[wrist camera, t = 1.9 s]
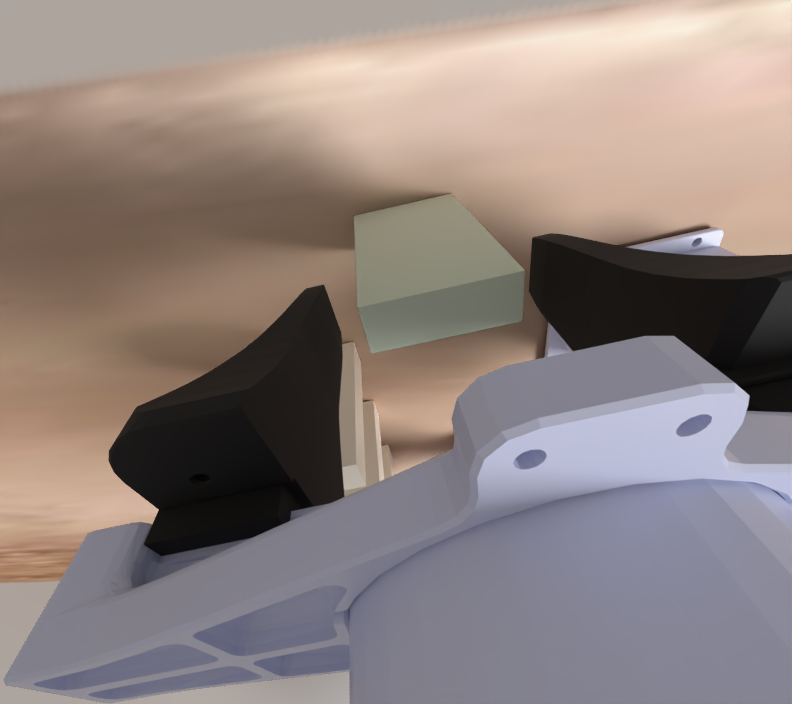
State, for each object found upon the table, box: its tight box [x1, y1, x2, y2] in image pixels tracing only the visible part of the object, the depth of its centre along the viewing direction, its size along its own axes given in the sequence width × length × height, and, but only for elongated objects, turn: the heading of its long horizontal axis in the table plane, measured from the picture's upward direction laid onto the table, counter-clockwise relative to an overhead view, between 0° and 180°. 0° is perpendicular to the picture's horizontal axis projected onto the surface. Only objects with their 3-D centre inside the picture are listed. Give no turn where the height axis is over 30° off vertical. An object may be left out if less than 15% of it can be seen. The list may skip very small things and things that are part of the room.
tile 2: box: [339, 342, 366, 490], centre depth 19 cm, size 5×2×9 cm, turn 100°
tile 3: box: [344, 400, 384, 497], centre depth 22 cm, size 5×2×9 cm, turn 100°
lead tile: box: [354, 193, 525, 354], centre depth 14 cm, size 5×2×9 cm, turn 100°
